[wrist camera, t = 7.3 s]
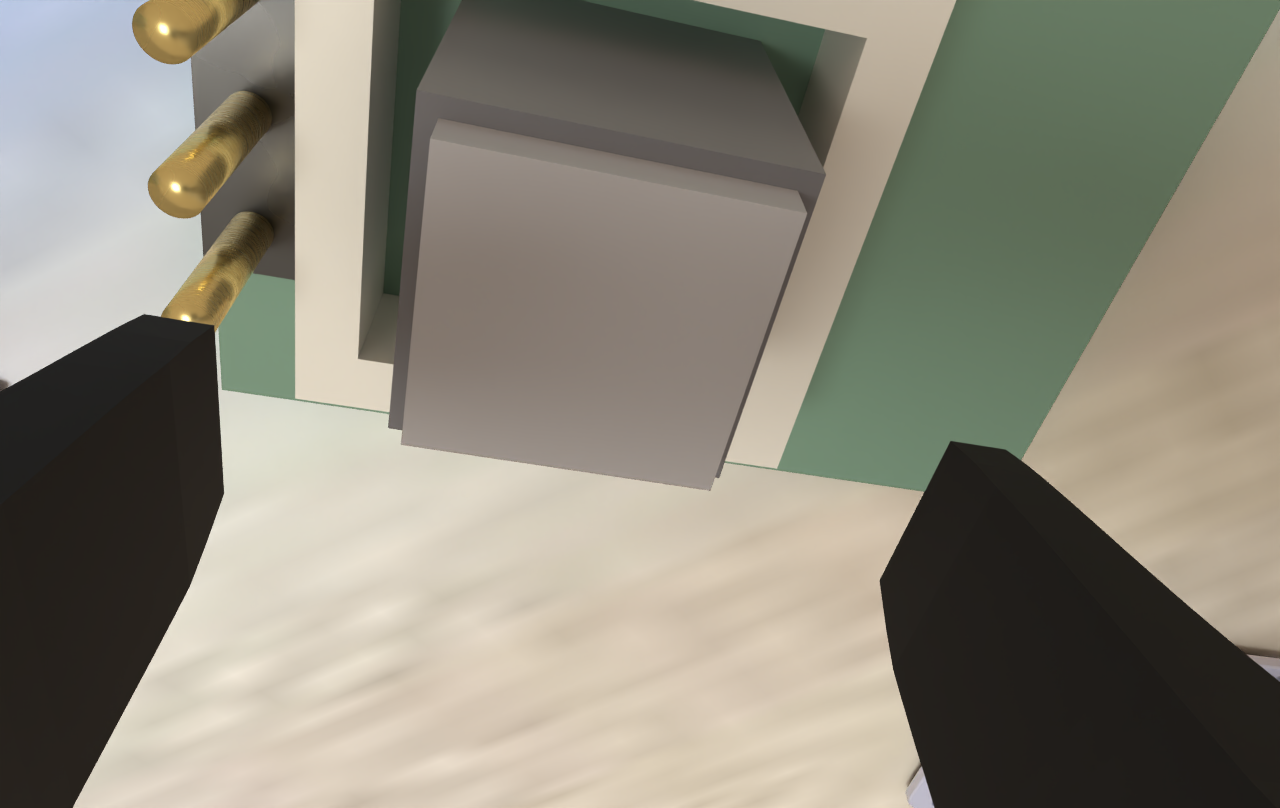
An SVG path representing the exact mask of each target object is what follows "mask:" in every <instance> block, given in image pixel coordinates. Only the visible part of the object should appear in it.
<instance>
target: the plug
mask: <svg viewBox="0 0 1280 808" xmlns="http://www.w3.org/2000/svg"><path fill="white" fill-rule="evenodd" d="M825 177H826V173H825V171H824V169H823V167H822V165H821V163H820V161H819V159H818V157H817V155H816V153H815V151H814V149H813V147H812V145H811V142H810V140H809V138H808V136H807V134H806V132H805V130H804V128H803V126H802V124H801V122H800V120H799V118H798V116H797V114H796V112H795V110H794V108H793V106H792V104H791V102H790V100H789V98H788V96H787V94H786V92H785V90H784V88H783V86H782V84H781V82H780V80H779V78H778V76H777V74H776V72H775V70H774V68H773V66H772V64H771V61H770V59H769V57H768V55H767V53H766V51H765V49H764V47H763V45H762V43H761V41H758V40H754V39H750V38H745V37H741V36H736V35H732V34H727V33H723V32H719V31H714V30H710V29H705V28H701V27H697V26H692V25H688V24H683V23H679V22H674V21H670V20H666V19H661V18H657V17H652V16H648V15H644V14H639V13H635V12H630V11H626V10H621V9H617V8H613V7H608V6H604V5H599V4H595V3H591V2H586V1H582V0H462V1H461V3H460V5H459V7H458V9H457V11H456V13H455V15H454V17H453V19H452V21H451V23H450V25H449V27H448V29H447V31H446V33H445V35H444V37H443V39H442V41H441V43H440V45H439V46H438V48H437V50H436V52H435V54H434V56H433V58H432V60H431V62H430V64H429V66H428V68H427V70H426V72H425V74H424V76H423V78H422V80H421V82H420V84H419V86H418V88H417V91H416V103H415V115H414V127H413V138H412V150H411V162H410V174H409V186H408V198H407V210H406V222H405V234H404V246H403V257H402V269H401V281H400V293H399V305H398V317H397V329H396V341H395V353H394V365H393V377H392V388H391V400H390V412H389V424H388V428H391V429H398V430H402V440H401V445H406V446H413V447H420V448H427V449H433V450H440V451H447V452H454V453H460V454H467V455H474V456H480V457H487V458H494V459H501V460H507V461H514V462H521V463H528V464H534V465H541V466H548V467H554V468H561V469H568V470H575V471H581V472H588V473H595V474H602V475H608V476H615V477H622V478H628V479H635V480H642V481H649V482H655V483H662V484H669V485H676V486H682V487H689V488H696V489H702V490H709V491H710V490H711V487H712V485H713V482H714V479H715V477H716V478H719V477H720V474H721V471H722V468H723V465H724V463H725V460H726V457H727V454H728V451H729V448H730V446H731V443H732V440H733V437H734V434H735V431H736V429H737V426H738V423H739V420H740V417H741V414H742V412H743V409H744V406H745V403H746V400H747V397H748V395H749V392H750V389H751V386H752V383H753V380H754V378H755V375H756V372H757V369H758V366H759V363H760V361H761V358H762V355H763V352H764V349H765V346H766V344H767V341H768V338H769V335H770V332H771V329H772V327H773V324H774V321H775V318H776V315H777V312H778V310H779V307H780V304H781V301H782V298H783V296H784V293H785V290H786V287H787V284H788V281H789V279H790V276H791V273H792V270H793V267H794V264H795V262H796V259H797V256H798V253H799V250H800V247H801V245H802V242H803V239H804V236H805V233H806V230H807V228H808V225H809V222H810V219H811V216H812V213H813V211H814V208H815V205H816V202H817V199H818V196H819V194H820V191H821V188H822V185H823V182H824V179H825Z"/></svg>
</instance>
